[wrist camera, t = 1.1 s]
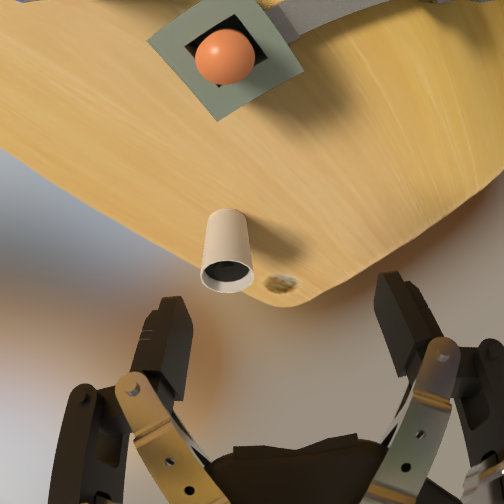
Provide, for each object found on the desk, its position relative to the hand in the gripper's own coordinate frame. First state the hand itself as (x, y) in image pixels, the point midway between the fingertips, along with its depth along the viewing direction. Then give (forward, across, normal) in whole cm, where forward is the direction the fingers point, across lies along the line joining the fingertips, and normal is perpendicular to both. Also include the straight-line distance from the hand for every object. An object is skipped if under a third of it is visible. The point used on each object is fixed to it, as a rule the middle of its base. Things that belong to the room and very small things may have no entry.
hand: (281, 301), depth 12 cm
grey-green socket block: (+24, +2, -12) cm, 27 cm away
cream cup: (+29, +6, +12) cm, 33 cm away
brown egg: (+17, +2, -11) cm, 20 cm away
